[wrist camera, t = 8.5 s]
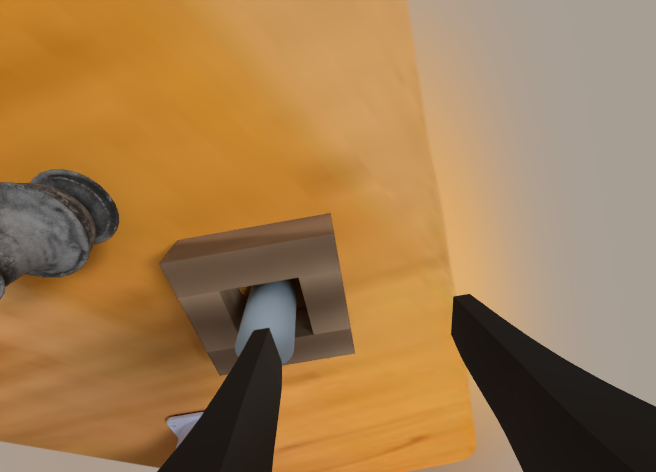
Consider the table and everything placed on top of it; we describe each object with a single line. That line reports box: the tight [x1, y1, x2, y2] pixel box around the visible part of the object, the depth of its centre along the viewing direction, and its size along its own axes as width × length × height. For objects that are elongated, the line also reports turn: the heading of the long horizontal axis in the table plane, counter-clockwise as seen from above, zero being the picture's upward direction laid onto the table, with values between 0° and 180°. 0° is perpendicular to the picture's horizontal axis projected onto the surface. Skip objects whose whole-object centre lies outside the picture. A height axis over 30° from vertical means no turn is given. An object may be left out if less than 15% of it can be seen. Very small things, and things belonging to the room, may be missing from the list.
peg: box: [235, 278, 297, 365], centre depth 20 cm, size 4×4×6 cm
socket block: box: [159, 213, 355, 376], centre depth 22 cm, size 11×11×3 cm
